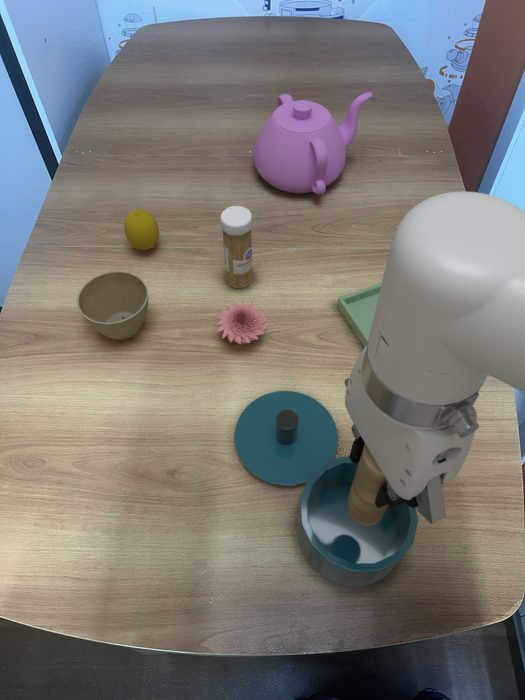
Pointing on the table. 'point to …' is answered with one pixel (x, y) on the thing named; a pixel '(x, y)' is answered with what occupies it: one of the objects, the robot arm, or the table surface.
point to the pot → (349, 530)
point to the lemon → (141, 229)
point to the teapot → (304, 145)
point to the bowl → (114, 303)
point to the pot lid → (285, 437)
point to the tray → (360, 311)
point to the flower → (242, 323)
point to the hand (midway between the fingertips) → (377, 476)
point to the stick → (366, 491)
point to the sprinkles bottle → (237, 245)
